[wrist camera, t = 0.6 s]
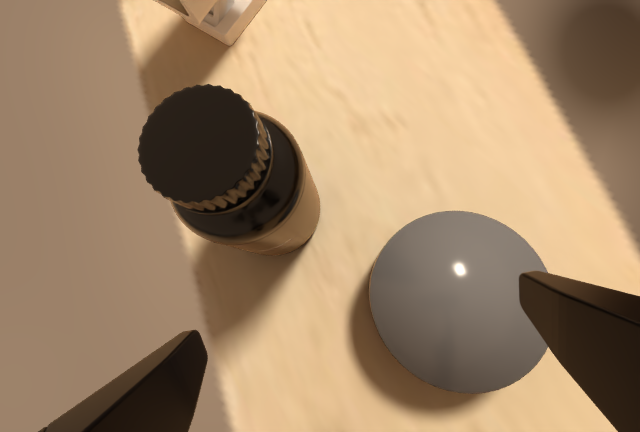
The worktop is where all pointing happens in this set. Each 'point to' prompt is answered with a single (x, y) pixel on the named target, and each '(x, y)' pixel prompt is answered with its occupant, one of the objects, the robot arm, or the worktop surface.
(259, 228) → the supplement bottle
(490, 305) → the stand
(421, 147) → the worktop surface
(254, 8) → the security camera
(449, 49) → the worktop surface
